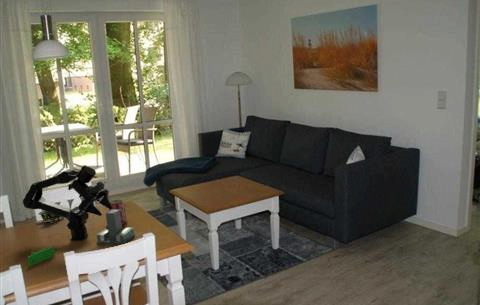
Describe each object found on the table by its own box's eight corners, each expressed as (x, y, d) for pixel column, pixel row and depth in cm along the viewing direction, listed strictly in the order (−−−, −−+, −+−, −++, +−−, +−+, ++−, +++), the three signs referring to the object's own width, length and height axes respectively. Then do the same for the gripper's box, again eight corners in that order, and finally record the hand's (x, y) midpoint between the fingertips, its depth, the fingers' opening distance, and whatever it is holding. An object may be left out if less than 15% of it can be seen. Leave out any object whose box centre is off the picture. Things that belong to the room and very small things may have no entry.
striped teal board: (97, 243, 200) (95, 232, 199) (109, 234, 210) (108, 223, 209) (123, 244, 196) (122, 233, 195) (134, 235, 207) (133, 224, 205)
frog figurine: (27, 225, 233) (23, 205, 230) (53, 214, 249) (50, 195, 246) (51, 228, 225) (47, 207, 223) (76, 216, 242) (73, 197, 239)
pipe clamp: (50, 255, 190) (48, 245, 189) (55, 256, 188) (53, 247, 187) (26, 264, 181) (24, 254, 180) (30, 266, 179) (29, 256, 178)
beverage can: (126, 219, 230) (123, 198, 228) (127, 224, 223) (124, 202, 220) (111, 222, 228) (108, 200, 225) (111, 226, 220) (108, 204, 218)
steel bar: (109, 239, 201) (105, 213, 199) (114, 234, 206) (111, 209, 203) (117, 239, 200) (114, 213, 197) (122, 235, 205) (119, 209, 202)
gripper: (80, 183, 191) (105, 207, 190) (103, 173, 208) (125, 194, 208) (67, 199, 194) (92, 223, 193) (91, 188, 212) (113, 209, 211)
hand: (106, 212), depth 201 cm, fingers open, 9 cm apart
